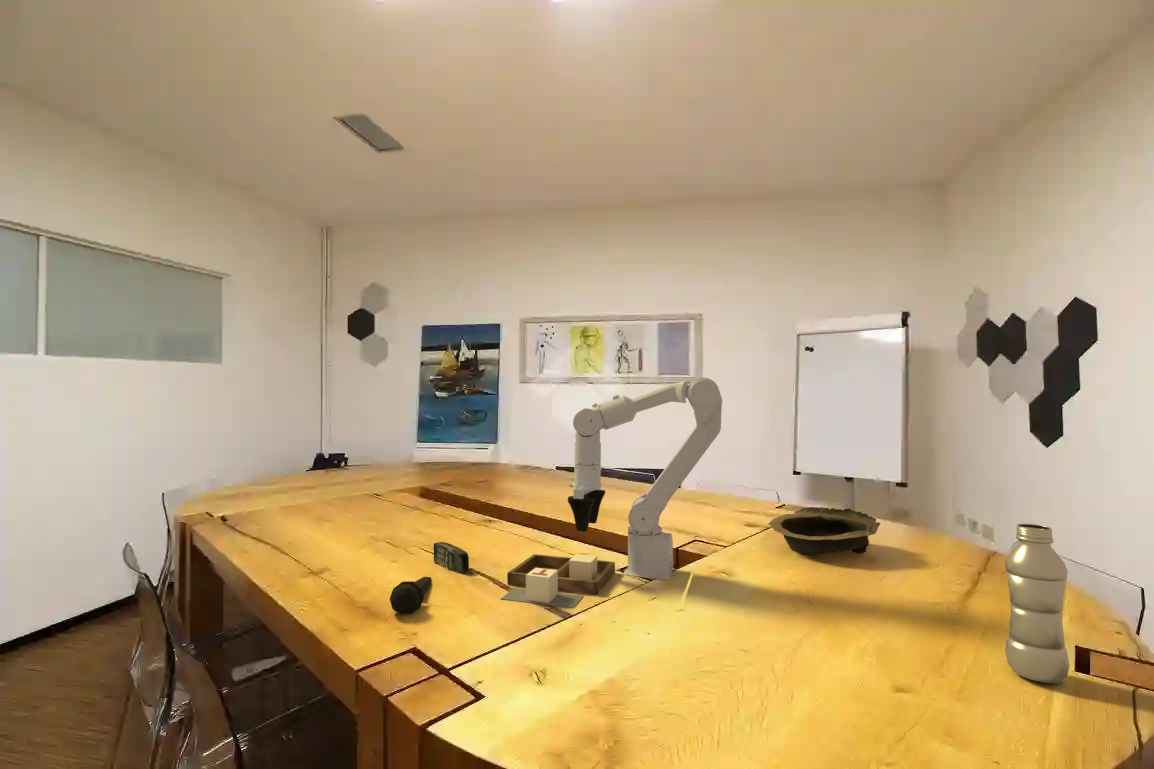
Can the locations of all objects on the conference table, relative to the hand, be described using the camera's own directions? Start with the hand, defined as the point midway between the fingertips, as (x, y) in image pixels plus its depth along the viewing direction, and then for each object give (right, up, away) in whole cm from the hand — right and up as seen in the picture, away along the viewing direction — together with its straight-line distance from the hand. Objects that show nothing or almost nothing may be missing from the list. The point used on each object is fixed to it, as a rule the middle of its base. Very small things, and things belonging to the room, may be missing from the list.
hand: (586, 526), depth 119 cm
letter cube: (-9, -8, -18) cm, 22 cm away
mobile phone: (-29, -10, +1) cm, 31 cm away
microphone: (-31, -10, -17) cm, 37 cm away
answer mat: (-8, -9, -18) cm, 22 cm away
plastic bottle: (+59, -8, -46) cm, 75 cm away
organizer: (-5, -9, -7) cm, 13 cm away
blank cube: (-1, -9, -9) cm, 12 cm away
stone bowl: (+58, -10, +14) cm, 60 cm away
